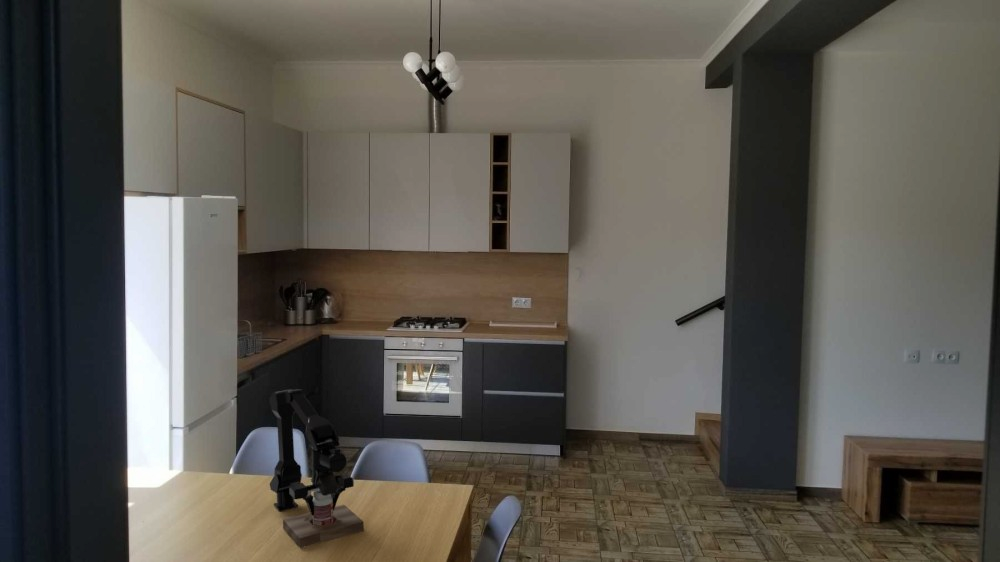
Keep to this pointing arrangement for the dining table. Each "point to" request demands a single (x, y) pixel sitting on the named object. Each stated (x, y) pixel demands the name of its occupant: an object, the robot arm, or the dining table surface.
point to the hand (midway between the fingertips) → (322, 512)
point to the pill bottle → (322, 509)
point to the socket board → (322, 527)
